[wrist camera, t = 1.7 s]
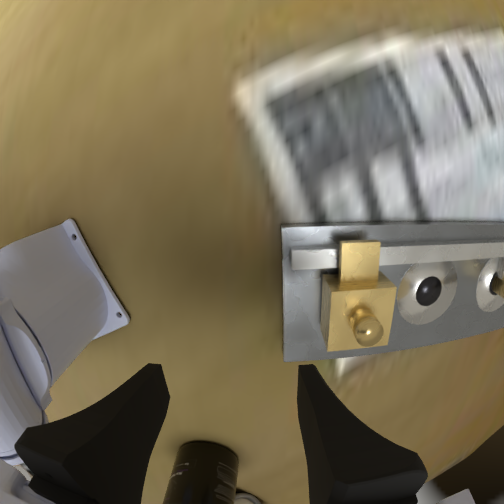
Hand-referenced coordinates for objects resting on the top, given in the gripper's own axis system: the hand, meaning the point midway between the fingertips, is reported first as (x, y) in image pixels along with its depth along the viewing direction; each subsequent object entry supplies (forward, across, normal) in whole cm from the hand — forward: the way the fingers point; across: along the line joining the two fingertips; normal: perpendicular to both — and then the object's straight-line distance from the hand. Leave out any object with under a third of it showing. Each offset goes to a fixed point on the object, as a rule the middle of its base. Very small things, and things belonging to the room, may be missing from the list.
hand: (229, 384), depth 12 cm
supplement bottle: (+10, +5, +20) cm, 23 cm away
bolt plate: (+9, -14, 0) cm, 17 cm away
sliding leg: (+8, -7, -1) cm, 11 cm away
